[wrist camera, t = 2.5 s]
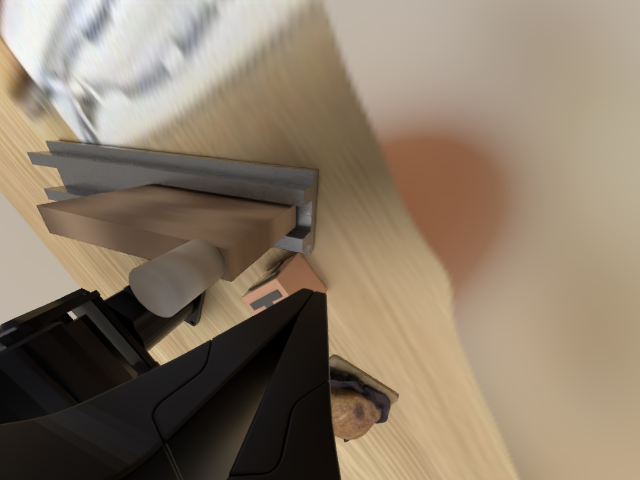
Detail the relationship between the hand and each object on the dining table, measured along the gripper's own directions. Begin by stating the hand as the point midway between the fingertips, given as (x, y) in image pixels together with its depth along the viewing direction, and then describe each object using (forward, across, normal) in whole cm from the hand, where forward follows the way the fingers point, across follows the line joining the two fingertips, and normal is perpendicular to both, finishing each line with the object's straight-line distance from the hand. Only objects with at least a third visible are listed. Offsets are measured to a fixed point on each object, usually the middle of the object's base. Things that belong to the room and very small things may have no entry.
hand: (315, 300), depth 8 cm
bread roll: (+10, -1, +20) cm, 22 cm away
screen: (+8, +10, 0) cm, 13 cm away
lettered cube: (+9, +4, +6) cm, 12 cm away
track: (+9, +16, 0) cm, 18 cm away
